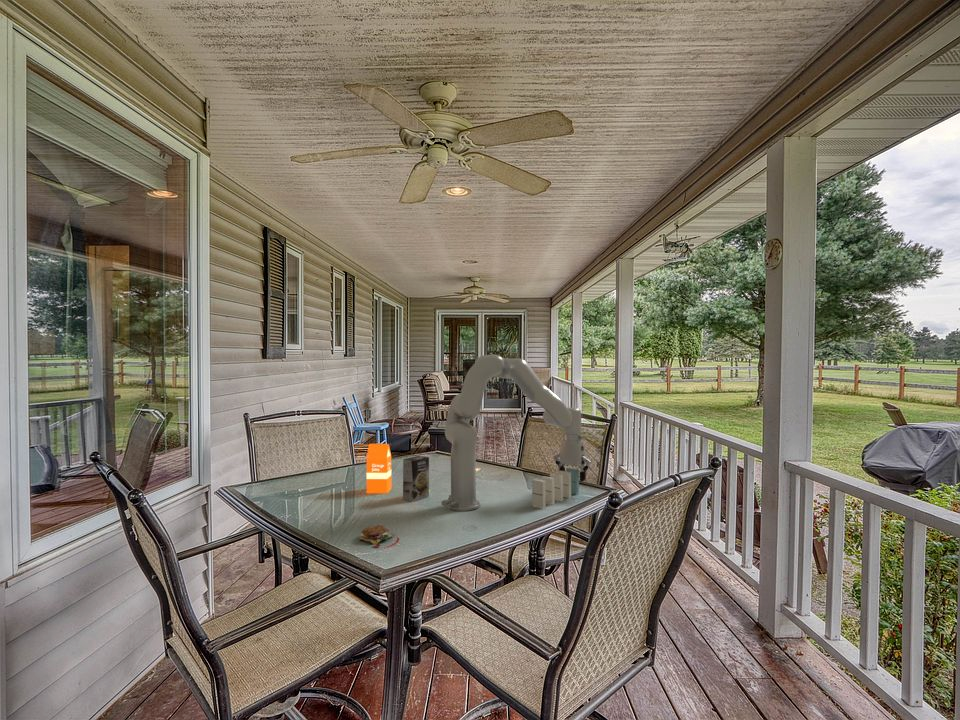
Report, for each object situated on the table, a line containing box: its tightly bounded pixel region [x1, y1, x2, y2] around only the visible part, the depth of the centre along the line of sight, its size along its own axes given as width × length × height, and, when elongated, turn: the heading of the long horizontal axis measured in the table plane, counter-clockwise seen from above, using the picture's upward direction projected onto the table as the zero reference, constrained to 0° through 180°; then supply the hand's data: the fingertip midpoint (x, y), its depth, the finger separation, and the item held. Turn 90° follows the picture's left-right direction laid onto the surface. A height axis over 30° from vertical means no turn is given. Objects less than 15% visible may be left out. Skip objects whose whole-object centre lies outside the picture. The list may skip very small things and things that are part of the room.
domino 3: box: [549, 472, 564, 502], centre depth 178 cm, size 2×5×10 cm, turn 47°
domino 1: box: [531, 478, 547, 510], centre depth 169 cm, size 2×5×10 cm, turn 47°
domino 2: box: [540, 475, 556, 506], centre depth 173 cm, size 2×5×10 cm, turn 47°
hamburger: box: [359, 524, 400, 549], centre depth 138 cm, size 14×14×6 cm
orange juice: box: [366, 443, 392, 494], centre depth 193 cm, size 8×9×20 cm
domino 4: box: [558, 470, 572, 499], centre depth 182 cm, size 2×5×10 cm, turn 47°
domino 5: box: [565, 467, 580, 496], centre depth 187 cm, size 2×5×10 cm, turn 46°
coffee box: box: [402, 455, 430, 502], centre depth 182 cm, size 9×6×16 cm
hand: (572, 478), depth 187 cm, fingers open, 9 cm apart
